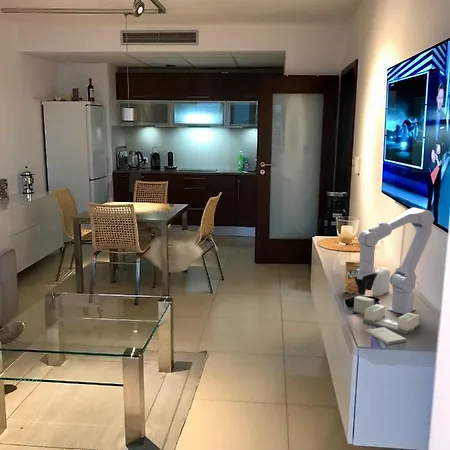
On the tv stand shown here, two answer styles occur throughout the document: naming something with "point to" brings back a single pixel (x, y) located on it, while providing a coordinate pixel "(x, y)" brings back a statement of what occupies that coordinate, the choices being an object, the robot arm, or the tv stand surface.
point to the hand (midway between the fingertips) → (365, 292)
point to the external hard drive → (386, 335)
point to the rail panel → (391, 320)
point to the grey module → (362, 304)
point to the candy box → (351, 276)
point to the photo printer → (381, 282)
